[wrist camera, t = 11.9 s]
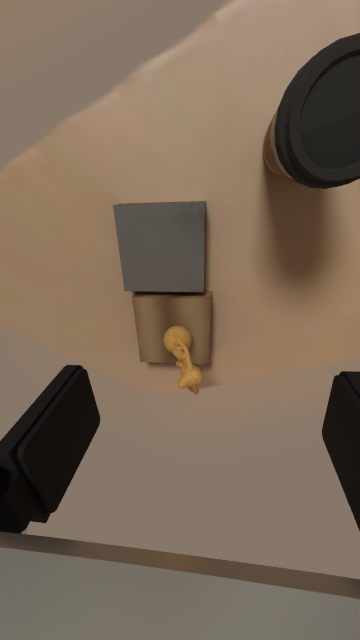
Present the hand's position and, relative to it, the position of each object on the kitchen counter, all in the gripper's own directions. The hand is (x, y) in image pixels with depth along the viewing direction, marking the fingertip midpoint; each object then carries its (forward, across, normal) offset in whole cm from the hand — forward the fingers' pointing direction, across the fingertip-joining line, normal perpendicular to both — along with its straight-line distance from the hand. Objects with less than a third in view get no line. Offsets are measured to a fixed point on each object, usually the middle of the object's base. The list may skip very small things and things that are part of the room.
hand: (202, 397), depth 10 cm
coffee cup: (+29, -8, -11) cm, 32 cm away
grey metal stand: (+29, +7, 0) cm, 30 cm away
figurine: (+26, +4, +12) cm, 29 cm away
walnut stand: (+29, +6, +12) cm, 32 cm away
